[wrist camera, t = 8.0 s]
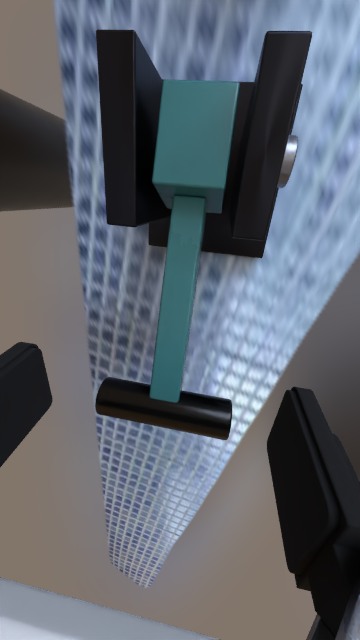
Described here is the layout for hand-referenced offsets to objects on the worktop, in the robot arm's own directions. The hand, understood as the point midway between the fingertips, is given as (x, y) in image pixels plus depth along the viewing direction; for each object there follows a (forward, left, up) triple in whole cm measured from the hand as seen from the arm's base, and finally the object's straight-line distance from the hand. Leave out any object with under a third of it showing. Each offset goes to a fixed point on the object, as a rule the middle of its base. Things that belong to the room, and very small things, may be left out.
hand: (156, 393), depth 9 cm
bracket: (-6, +5, -14) cm, 16 cm away
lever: (-3, +2, -3) cm, 5 cm away
